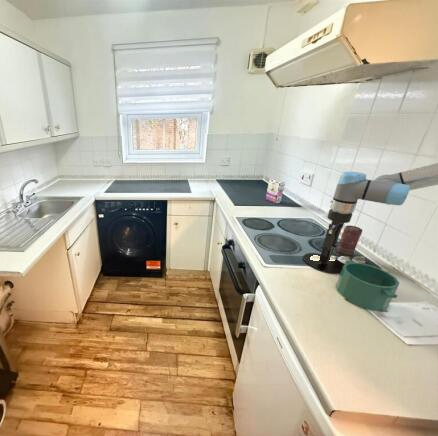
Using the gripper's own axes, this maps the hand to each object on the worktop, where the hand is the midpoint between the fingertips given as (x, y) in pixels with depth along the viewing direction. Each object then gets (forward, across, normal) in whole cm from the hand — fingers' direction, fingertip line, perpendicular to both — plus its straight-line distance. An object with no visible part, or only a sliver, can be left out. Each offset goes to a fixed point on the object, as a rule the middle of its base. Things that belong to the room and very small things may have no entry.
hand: (324, 260), depth 104 cm
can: (+2, -18, +4) cm, 18 cm away
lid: (+1, 0, 0) cm, 1 cm away
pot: (+2, +13, +16) cm, 20 cm away
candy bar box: (+2, -70, -54) cm, 89 cm away
